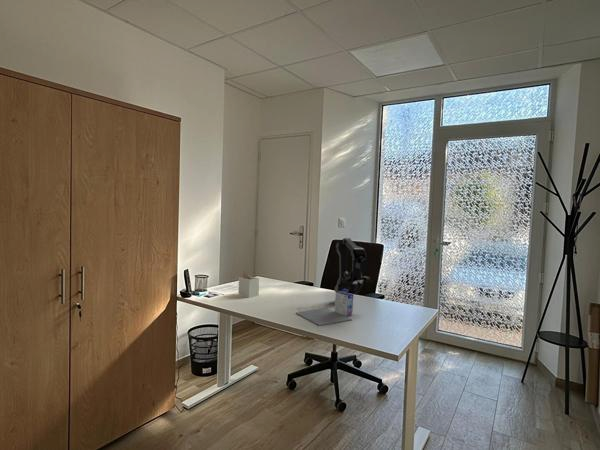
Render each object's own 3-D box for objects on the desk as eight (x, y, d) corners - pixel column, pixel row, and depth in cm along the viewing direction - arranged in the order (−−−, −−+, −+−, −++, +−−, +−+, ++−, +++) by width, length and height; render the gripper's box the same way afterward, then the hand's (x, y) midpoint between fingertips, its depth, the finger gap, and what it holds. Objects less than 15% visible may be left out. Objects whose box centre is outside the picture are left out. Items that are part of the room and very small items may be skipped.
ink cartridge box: (353, 314, 207) (354, 290, 206) (346, 316, 203) (348, 291, 203) (340, 310, 214) (341, 287, 214) (334, 312, 211) (335, 288, 210)
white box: (247, 293, 251) (248, 270, 250) (258, 296, 244) (259, 272, 243) (238, 295, 244) (238, 271, 243) (249, 298, 237) (249, 273, 236)
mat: (326, 308, 217) (326, 307, 217) (351, 320, 197) (351, 319, 197) (295, 313, 206) (295, 312, 206) (319, 326, 185) (319, 324, 185)
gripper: (359, 265, 224) (358, 290, 225) (336, 267, 214) (335, 292, 215) (372, 268, 215) (371, 294, 215) (348, 270, 205) (347, 297, 206)
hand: (355, 294), depth 213 cm, fingers closed
